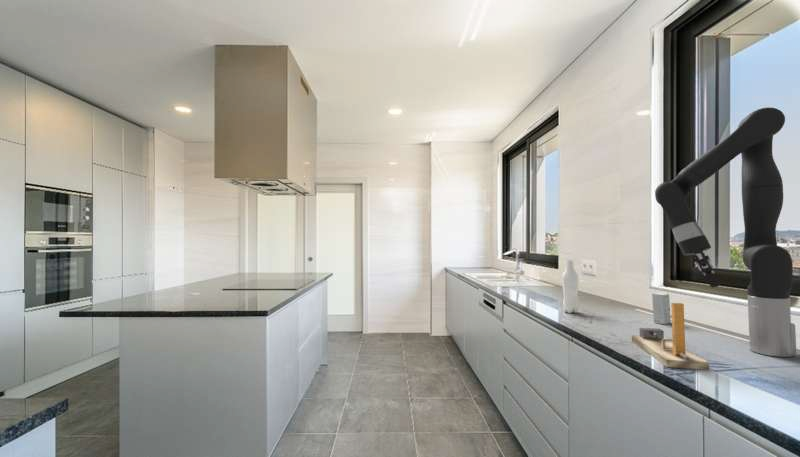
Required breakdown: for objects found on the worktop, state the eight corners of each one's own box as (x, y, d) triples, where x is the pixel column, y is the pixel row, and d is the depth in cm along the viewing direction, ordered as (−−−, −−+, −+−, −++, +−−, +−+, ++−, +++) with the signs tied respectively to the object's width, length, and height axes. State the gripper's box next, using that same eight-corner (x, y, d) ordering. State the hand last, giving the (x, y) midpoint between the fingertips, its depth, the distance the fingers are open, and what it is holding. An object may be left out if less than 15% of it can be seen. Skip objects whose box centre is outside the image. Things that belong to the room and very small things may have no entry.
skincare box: (665, 324, 148) (664, 295, 148) (652, 322, 152) (651, 293, 152) (671, 322, 152) (670, 293, 152) (659, 320, 155) (658, 292, 156)
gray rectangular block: (659, 337, 123) (659, 328, 123) (667, 342, 117) (667, 332, 118) (639, 336, 124) (639, 327, 124) (646, 341, 119) (646, 331, 119)
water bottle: (559, 311, 177) (558, 260, 178) (571, 310, 180) (570, 259, 180) (570, 314, 171) (569, 261, 171) (582, 313, 173) (581, 260, 173)
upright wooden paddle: (678, 349, 109) (676, 300, 109) (695, 359, 100) (693, 306, 100) (662, 348, 110) (660, 299, 110) (678, 358, 101) (676, 305, 101)
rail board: (664, 342, 124) (664, 336, 124) (709, 369, 98) (708, 362, 99) (631, 340, 126) (631, 335, 126) (667, 367, 101) (666, 359, 101)
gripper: (703, 231, 111) (731, 282, 105) (705, 237, 122) (730, 283, 116) (675, 239, 115) (700, 289, 110) (679, 245, 126) (702, 290, 120)
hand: (715, 286), depth 113 cm, fingers open, 8 cm apart
